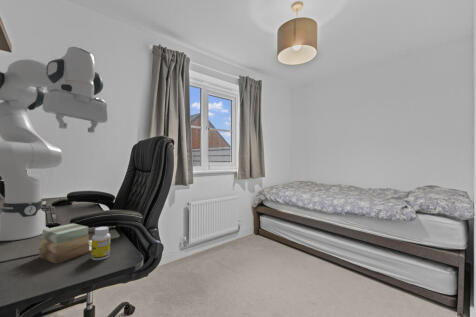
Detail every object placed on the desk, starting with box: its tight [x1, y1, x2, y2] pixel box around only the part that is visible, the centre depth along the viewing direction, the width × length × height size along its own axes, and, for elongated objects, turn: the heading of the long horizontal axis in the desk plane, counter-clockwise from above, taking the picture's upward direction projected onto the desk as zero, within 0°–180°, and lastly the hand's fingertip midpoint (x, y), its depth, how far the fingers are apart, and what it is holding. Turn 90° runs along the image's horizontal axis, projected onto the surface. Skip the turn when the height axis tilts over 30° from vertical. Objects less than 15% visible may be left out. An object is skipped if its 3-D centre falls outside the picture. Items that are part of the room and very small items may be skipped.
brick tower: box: [38, 222, 90, 264], centre depth 75 cm, size 10×10×9 cm
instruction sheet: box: [89, 239, 92, 252], centre depth 84 cm, size 10×6×1 cm, turn 66°
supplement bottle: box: [90, 226, 111, 261], centre depth 74 cm, size 5×5×10 cm
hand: (77, 130), depth 80 cm, fingers open, 8 cm apart
